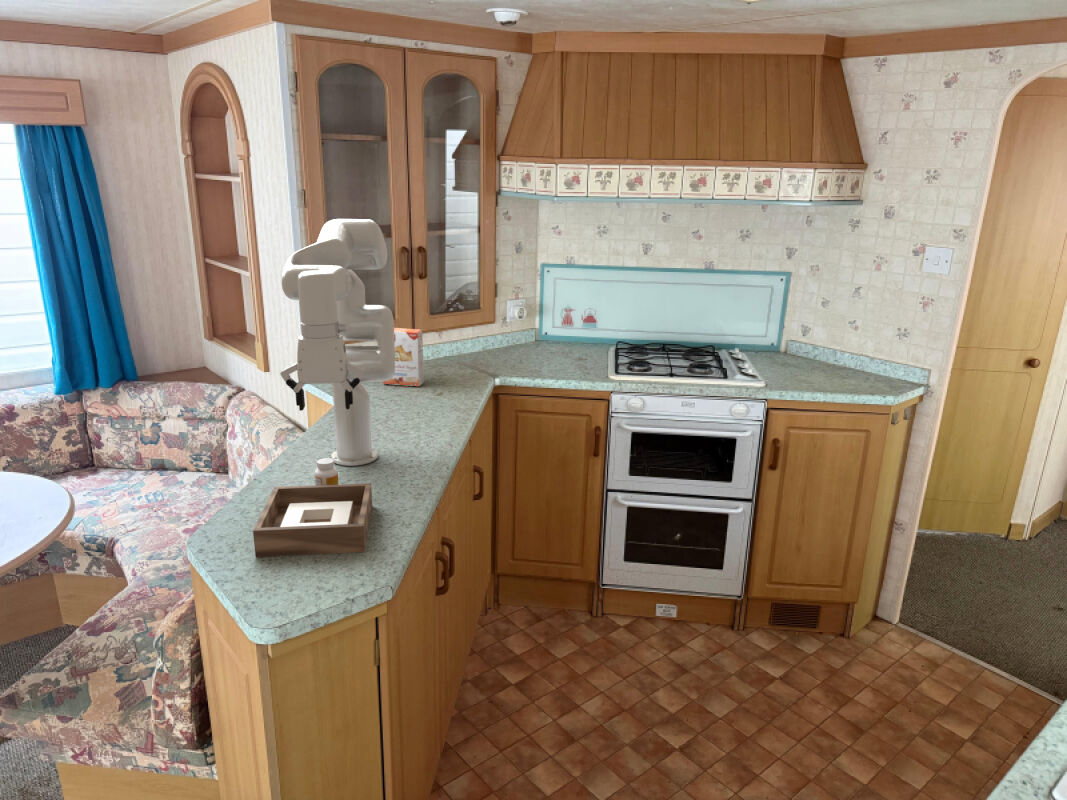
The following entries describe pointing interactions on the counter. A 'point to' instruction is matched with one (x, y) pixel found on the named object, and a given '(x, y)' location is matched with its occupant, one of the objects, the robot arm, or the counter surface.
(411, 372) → the cracker box
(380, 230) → the robot arm
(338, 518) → the socket plate
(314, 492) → the open box
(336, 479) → the supplement bottle
